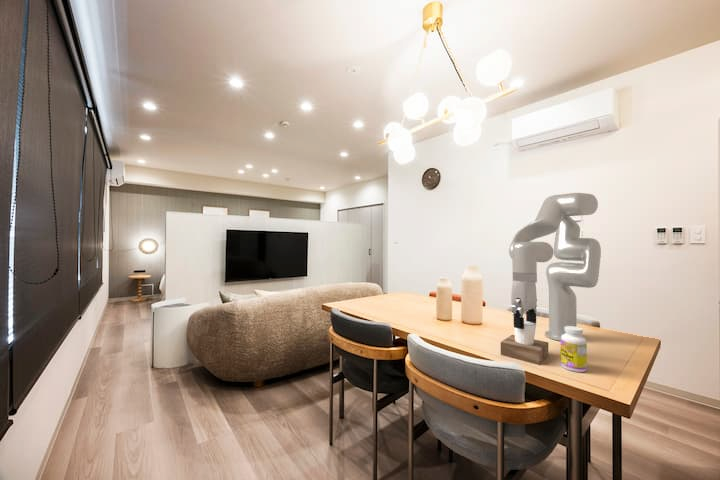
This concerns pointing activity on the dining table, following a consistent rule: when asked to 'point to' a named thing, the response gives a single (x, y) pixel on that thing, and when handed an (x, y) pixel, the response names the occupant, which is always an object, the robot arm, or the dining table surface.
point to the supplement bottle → (573, 349)
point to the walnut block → (525, 350)
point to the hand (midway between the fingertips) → (525, 325)
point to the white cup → (525, 333)
